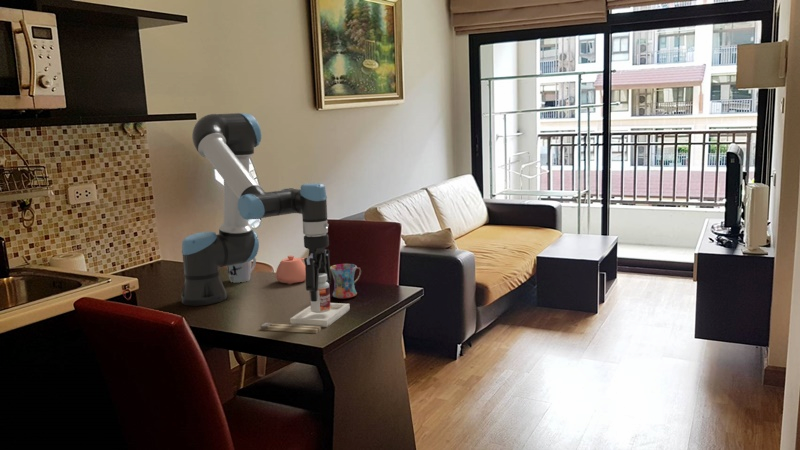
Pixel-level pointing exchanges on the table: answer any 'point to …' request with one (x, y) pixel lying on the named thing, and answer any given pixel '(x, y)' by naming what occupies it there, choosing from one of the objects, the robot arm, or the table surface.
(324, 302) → the pill bottle
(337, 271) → the mug
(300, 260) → the pink teapot
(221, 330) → the table surface
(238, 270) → the mug
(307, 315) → the tray
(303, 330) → the tongs
